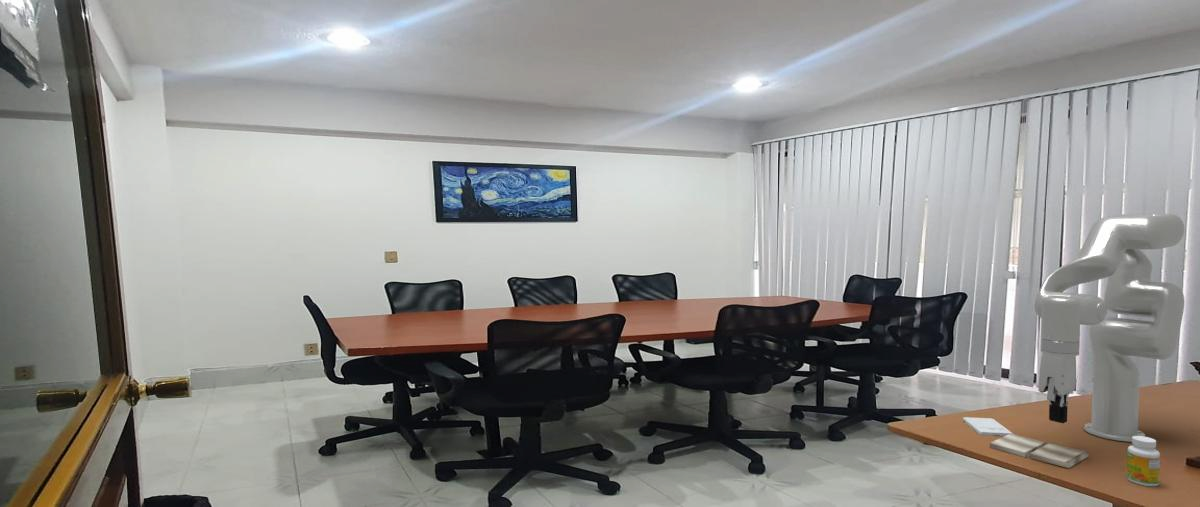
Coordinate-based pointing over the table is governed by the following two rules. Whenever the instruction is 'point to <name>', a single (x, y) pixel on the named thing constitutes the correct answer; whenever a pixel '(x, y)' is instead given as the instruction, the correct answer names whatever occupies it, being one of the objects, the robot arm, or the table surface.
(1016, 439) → the laid board
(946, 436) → the table surface
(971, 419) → the external hard drive
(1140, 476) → the supplement bottle
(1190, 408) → the table surface
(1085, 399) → the table surface
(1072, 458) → the plank
